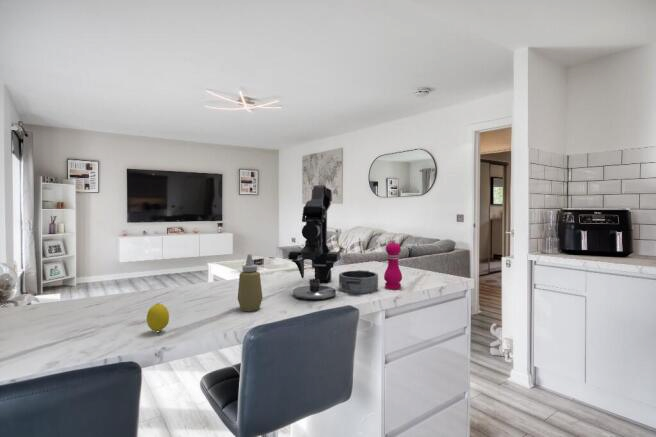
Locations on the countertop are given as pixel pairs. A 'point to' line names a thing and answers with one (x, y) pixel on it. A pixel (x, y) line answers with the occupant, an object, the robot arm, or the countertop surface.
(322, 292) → the lid
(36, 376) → the countertop surface
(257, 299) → the squeeze bottle
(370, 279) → the pot
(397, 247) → the pepper mill
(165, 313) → the lemon
